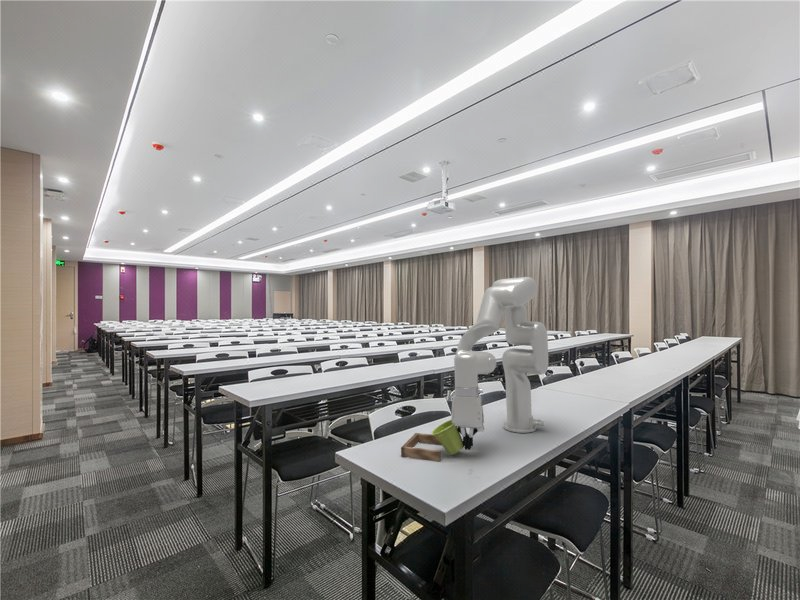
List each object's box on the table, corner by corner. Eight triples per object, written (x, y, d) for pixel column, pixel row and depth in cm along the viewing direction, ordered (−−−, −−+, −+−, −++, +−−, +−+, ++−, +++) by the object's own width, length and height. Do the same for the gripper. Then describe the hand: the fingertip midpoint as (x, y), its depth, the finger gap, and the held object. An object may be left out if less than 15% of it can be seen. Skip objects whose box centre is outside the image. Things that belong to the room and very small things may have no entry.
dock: (451, 444, 129) (450, 436, 129) (440, 461, 115) (439, 452, 115) (415, 441, 133) (415, 432, 133) (401, 456, 119) (401, 447, 119)
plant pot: (440, 461, 118) (427, 437, 119) (449, 447, 126) (436, 425, 127) (464, 452, 114) (451, 427, 115) (472, 439, 122) (459, 415, 123)
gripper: (491, 390, 120) (492, 446, 119) (446, 388, 125) (448, 442, 124) (488, 395, 113) (490, 455, 112) (441, 392, 118) (443, 449, 117)
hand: (468, 448), depth 118 cm, fingers closed
